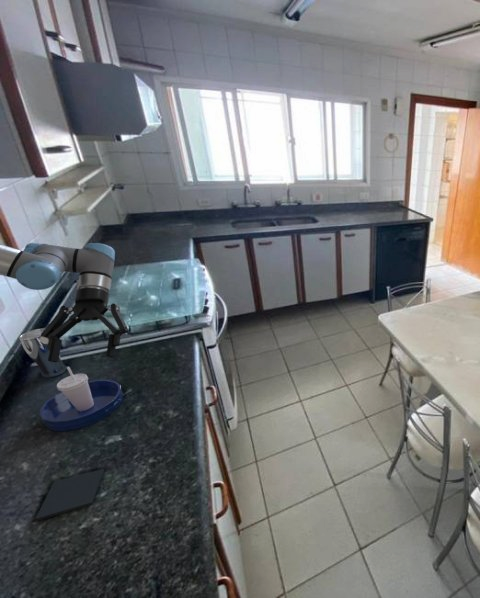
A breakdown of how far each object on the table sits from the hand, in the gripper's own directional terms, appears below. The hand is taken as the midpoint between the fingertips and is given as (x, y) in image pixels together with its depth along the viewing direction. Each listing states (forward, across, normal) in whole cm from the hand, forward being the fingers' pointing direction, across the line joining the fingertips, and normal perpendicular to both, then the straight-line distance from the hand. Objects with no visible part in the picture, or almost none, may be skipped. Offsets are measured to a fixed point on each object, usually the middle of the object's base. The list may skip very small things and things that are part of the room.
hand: (82, 359), depth 95 cm
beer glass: (-1, +18, -20) cm, 27 cm away
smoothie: (+13, 0, -5) cm, 14 cm away
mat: (+34, -11, +15) cm, 39 cm away
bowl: (+13, 0, -6) cm, 15 cm away
